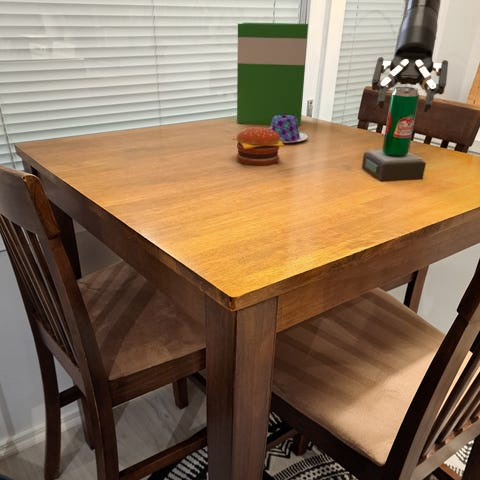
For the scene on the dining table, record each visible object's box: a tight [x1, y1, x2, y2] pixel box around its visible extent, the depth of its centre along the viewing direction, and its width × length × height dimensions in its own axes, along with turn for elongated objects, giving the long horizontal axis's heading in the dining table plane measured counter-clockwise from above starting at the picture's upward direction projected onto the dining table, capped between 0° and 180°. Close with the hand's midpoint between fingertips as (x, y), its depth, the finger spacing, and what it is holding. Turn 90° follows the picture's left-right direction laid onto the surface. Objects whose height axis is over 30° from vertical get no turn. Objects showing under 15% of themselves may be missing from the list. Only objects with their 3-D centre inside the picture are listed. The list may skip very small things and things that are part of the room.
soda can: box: [381, 86, 420, 157], centre depth 95 cm, size 5×5×12 cm
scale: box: [361, 149, 427, 182], centre depth 100 cm, size 9×9×4 cm
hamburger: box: [232, 126, 285, 166], centre depth 106 cm, size 9×10×7 cm
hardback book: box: [236, 21, 309, 127], centre depth 134 cm, size 18×7×24 cm, turn 82°
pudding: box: [269, 115, 309, 144], centre depth 122 cm, size 12×12×5 cm
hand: (403, 107), depth 99 cm, fingers open, 8 cm apart
